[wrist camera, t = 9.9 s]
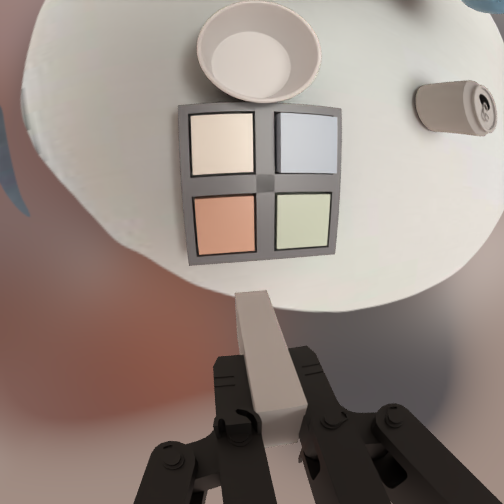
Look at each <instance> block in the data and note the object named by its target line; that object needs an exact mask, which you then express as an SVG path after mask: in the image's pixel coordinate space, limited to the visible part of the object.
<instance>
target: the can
mask: <svg viewBox="0 0 504 504" xmlns="http://www.w3.org/2000/svg"><path fill="white" fill-rule="evenodd" d="M416 110H417V113H418V115H419V118H420V120H421V121H422V123H423V124H424V125H425V126H426V127H427V128H428V129H429V130H432V131H435V132H447V133H458V134H467V135H474V136H485V135H486V134H488V133H492V132H493V131H494V130H495V127H496V124H497V110H496V105H495V102H494V99H493V97H492V95H491V93H490V92H489V90H488V89H487V88H486V87H485V86H483V85H479V84H478V83H477V82H475V81H471V80H469V81H455V82H444V83H435V84H427V85H423V86H421V87H420V88H419V89H418V91H417V94H416Z"/></svg>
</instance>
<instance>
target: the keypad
mask: <svg viewBox="0 0 504 504" xmlns="http://www.w3.org/2000/svg"><path fill="white" fill-rule="evenodd" d="M279 113H297V114H311V115H322V116H331V117H337V125H338V138H337V174H336V173H280V172H278V171H275V115H276V114H279ZM216 114H252V122H253V172H237V173H217V174H202V175H193V164H192V139H191V116H199V115H216ZM178 126H179V153H180V172H181V187H182V200H183V213H184V224H185V234H186V243H187V253H188V261H189V266H191V265H205V264H218V263H232V262H245V261H257V260H270V259H283V258H295V257H307V256H319V255H331V254H335V249H336V238H337V227H338V215H339V200H340V181H341V148H342V114H341V108H333V107H325V106H315V105H304V104H291V103H255V102H223V103H202V104H189V105H178ZM275 192H326V193H328V194H330V210H329V225H328V238H327V245H326V246H312V247H299V248H285V249H277V248H276V247H275V245H274V202H275ZM242 193H251V194H252V195H253V196H254V248H255V251H244V252H230V253H216V254H202V255H199V248H198V237H197V225H196V212H195V196H208V195H224V194H242Z"/></svg>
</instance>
